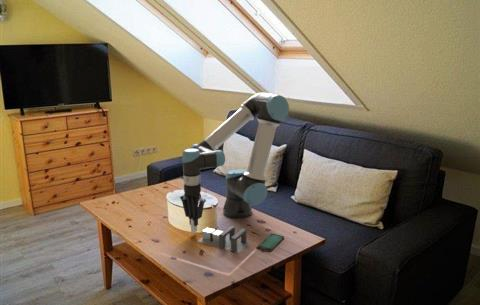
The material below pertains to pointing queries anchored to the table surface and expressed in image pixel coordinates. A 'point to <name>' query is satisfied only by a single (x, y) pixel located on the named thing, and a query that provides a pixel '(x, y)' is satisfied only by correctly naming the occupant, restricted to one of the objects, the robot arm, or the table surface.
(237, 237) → the grey angular piece
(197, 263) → the table surface
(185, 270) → the table surface
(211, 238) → the grey block
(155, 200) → the table surface
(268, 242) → the smartphone
